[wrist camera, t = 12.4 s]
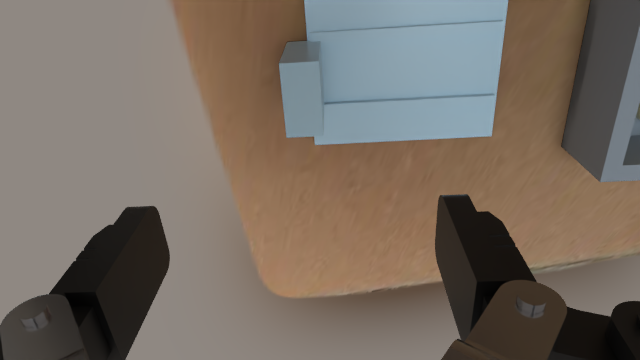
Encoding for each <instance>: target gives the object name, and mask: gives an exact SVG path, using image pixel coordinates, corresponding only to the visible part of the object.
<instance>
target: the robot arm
mask: <svg viewBox="0 0 640 360" xmlns="http://www.w3.org/2000/svg"><path fill="white" fill-rule="evenodd" d="M435 252H436V259H437V264H438V267H439V270H440V273H441V277H442V280H443V283H444V286H445V289H446V293H447V296H448V299H449V302H450V306H451V309H452V312H453V315H454V318H455V321H456V325H457V328H458V331H459V334H460V338H461V340H460V339H457V340H455V341H454V342H453V343H452V345H451V346H450V347H449V349H448V350H447V352H446V354H445V355H444V356H443V358H442V359H441V360H640V301H628V302H623V303H621V304H618V305H617V306H616V307H615V308H614V309H613V312H612V314H611V317H609V316H604V315H599V314H594V313H589V312H584V311H580V310H576V309H573V308H569V307H567V306H566V304H565V302H564V300H563V299H562V298H561V296H560V295H559V294H558V293H557V292H555V291H554V290H552V289H551V288H549V287H547V286H545V285H543V284H541V283H537V282H536V280H535V278H534V276H533V275H532V273H531V271H530V269H529V268H528V266H527V264H526V262H525V261H524V259H523V257H522V255H521V254H520V252H519V250H518V248H517V247H515V243H514V241H513V240H512V238H511V237H510V236H509V233H508V231H507V229H506V227H505V226H504V224H503V222H502V221H500V220H499V219H498V218H496V217H495V216H494V215H492V214H491V213H490V212H488V211H486V212H477V211H476V209H475V207H474V205H473V203H472V201H471V199H470V197H469V196H468V195H467V194H464V195H441V196H440V197H439V200H438V210H437V224H436V237H435ZM169 261H170V255H169V249H168V245H167V241H166V238H165V234H164V230H163V226H162V223H161V219H160V215H159V212H158V210H157V208H156V207H154V206H144V207H127V208H126V209H125V210H124V211H123V212H122V214H121V215H120V217H119V218H118V219H117V221H116V222H115V223H114V225H108V226H107V227H105V228H104V229H102V230H101V231H100V232H98V233H97V234H95V235H94V236H93V237H92V238H91V240H90V241H89V242H88V244H87V245H86V246H85V248H84V251H82V252H81V253H80V254H79V255H78V257H77V258H76V261H74V262H73V263H72V264H71V266H70V267H69V268H68V270H67V271H66V272H65V274H64V275H63V276H62V278H61V279H60V280H59V281H58V283H57V284H56V285H55V287H54V288H53V289H52V290H51V292H50V293H49V294H46V295H41V296H37V297H35V298H32V299H29V300H27V301H25V302H23V303H22V304H20V305H18V306H17V307H15V308H14V309H13V310H12V311H10V312H9V314H7V315H6V317H5V318H4V319H3V321H2V323H1V325H0V360H125V359H126V357H127V355H128V353H129V350H130V348H131V346H132V344H133V342H134V340H135V338H136V336H137V334H138V331H139V330H140V328H141V325H142V323H143V321H144V319H145V317H146V315H147V313H148V311H149V309H150V306H151V304H152V302H153V300H154V298H155V296H156V294H157V292H158V290H159V287H160V286H161V284H162V281H163V279H164V277H165V275H166V273H167V270H168V268H169Z"/></svg>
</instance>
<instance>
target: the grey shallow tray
mask: <svg viewBox="0 0 640 360" xmlns="http://www.w3.org/2000/svg"><path fill="white" fill-rule="evenodd" d="M561 147H562V148H564V149H565V150H566V151H567V152H568V153H569V154H570V155H571V156H572V157H573V158H574V159H576V160H577V161H578V162H579V163H580V164H581V165H582V166H583V167H584V168H585V169H586V170H588V171H589V172H590V173H591V174H592V175H593V176H594V177H595V178H596V179H597V180H598V181H600V182H611V181H634V180H640V0H591V2H590V7H589V12H588V16H587V21H586V26H585V31H584V36H583V41H582V46H581V51H580V56H579V61H578V66H577V71H576V76H575V81H574V86H573V91H572V96H571V101H570V106H569V111H568V116H567V121H566V126H565V131H564V136H563V141H562V146H561Z"/></svg>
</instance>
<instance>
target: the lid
mask: <svg viewBox="0 0 640 360" xmlns="http://www.w3.org/2000/svg"><path fill="white" fill-rule="evenodd" d="M304 4H305V17H306V31H307V41H294V42H287V44H286V46H285V49H284V51H283V54H282V57H281V59H280V62H279V71H280V80H281V90H282V99H283V109H284V118H285V128H286V137H287V138H292V137H311V136H314V139H315V145H326V144H346V143H366V142H385V141H405V140H425V139H445V138H465V137H485V136H492V128H493V120H494V112H495V104H496V96H497V87H498V79H499V71H500V63H501V55H502V47H503V39H504V31H505V22H506V14H507V6H508V0H304Z"/></svg>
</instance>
